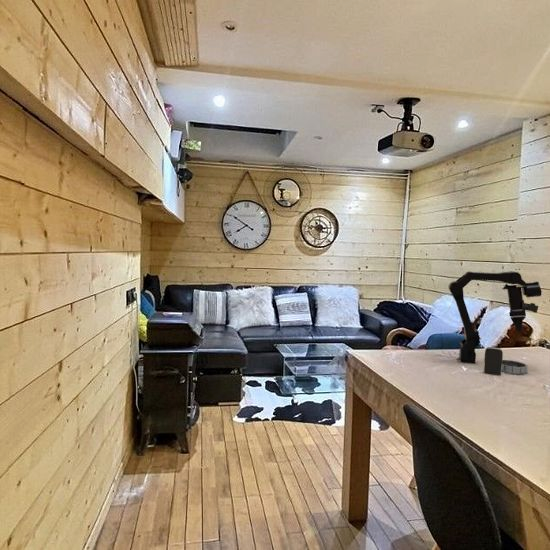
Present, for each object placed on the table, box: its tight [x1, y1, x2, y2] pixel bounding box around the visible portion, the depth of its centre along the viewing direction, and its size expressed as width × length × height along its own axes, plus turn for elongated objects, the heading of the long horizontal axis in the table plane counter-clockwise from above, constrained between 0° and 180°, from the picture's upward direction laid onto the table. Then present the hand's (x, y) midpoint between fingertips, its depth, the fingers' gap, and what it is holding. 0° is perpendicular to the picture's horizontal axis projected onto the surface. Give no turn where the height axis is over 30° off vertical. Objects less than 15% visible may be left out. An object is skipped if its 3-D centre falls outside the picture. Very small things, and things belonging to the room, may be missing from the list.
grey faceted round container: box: [501, 359, 529, 376], centre depth 191 cm, size 13×13×3 cm
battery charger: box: [483, 346, 504, 376], centre depth 185 cm, size 7×4×11 cm, turn 63°
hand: (520, 332), depth 194 cm, fingers open, 9 cm apart
